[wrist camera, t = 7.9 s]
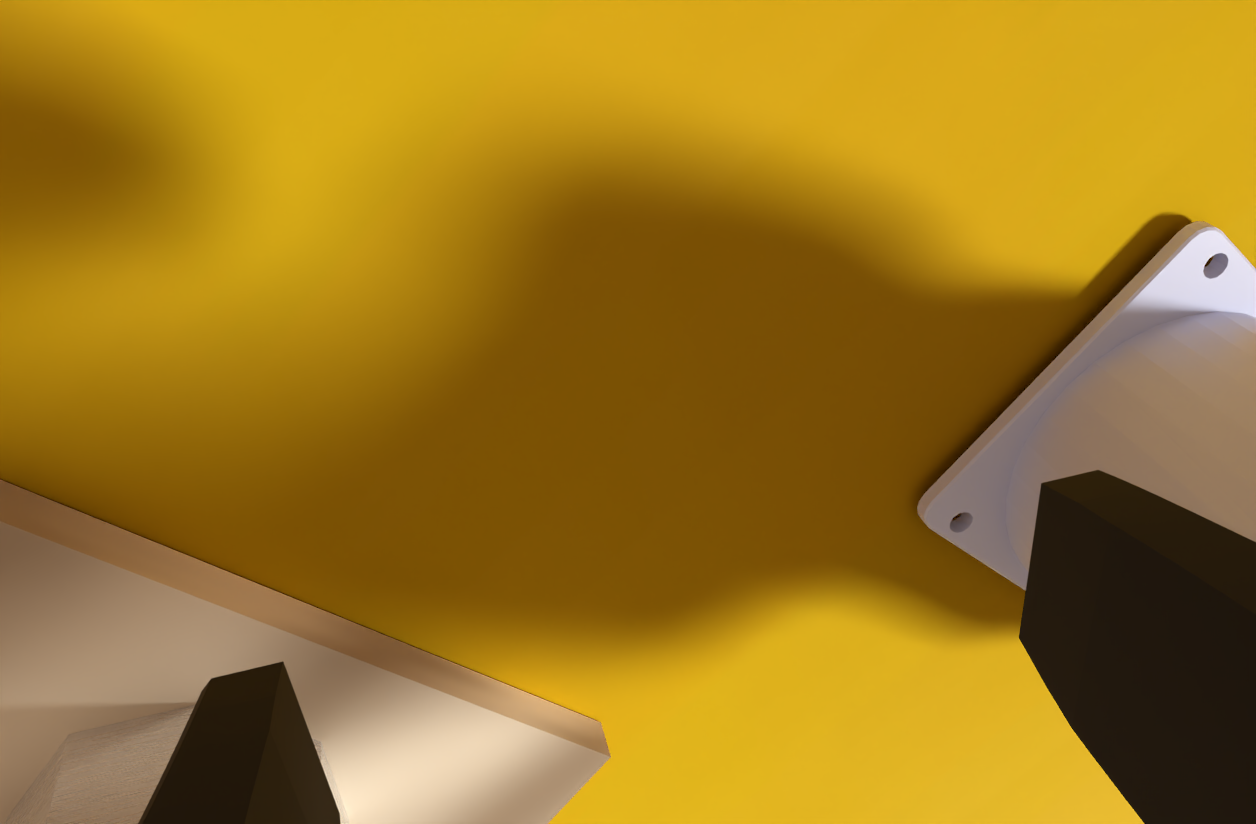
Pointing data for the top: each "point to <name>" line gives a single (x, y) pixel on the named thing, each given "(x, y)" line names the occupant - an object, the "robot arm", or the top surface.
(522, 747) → the board
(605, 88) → the top surface
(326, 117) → the top surface
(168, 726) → the collar
